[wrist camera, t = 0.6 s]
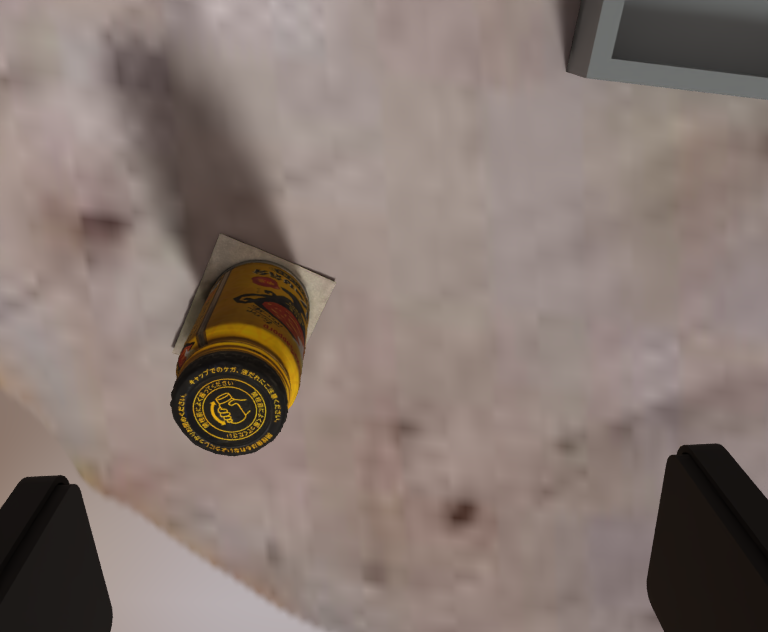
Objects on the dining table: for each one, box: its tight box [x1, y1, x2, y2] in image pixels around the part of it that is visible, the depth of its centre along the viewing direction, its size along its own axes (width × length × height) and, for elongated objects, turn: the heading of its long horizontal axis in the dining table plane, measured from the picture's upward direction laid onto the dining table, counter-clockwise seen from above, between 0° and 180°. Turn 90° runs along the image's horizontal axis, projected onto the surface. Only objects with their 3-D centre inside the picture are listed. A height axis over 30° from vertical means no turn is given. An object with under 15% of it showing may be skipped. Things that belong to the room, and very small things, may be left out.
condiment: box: [170, 233, 336, 456], centre depth 36 cm, size 7×8×12 cm
